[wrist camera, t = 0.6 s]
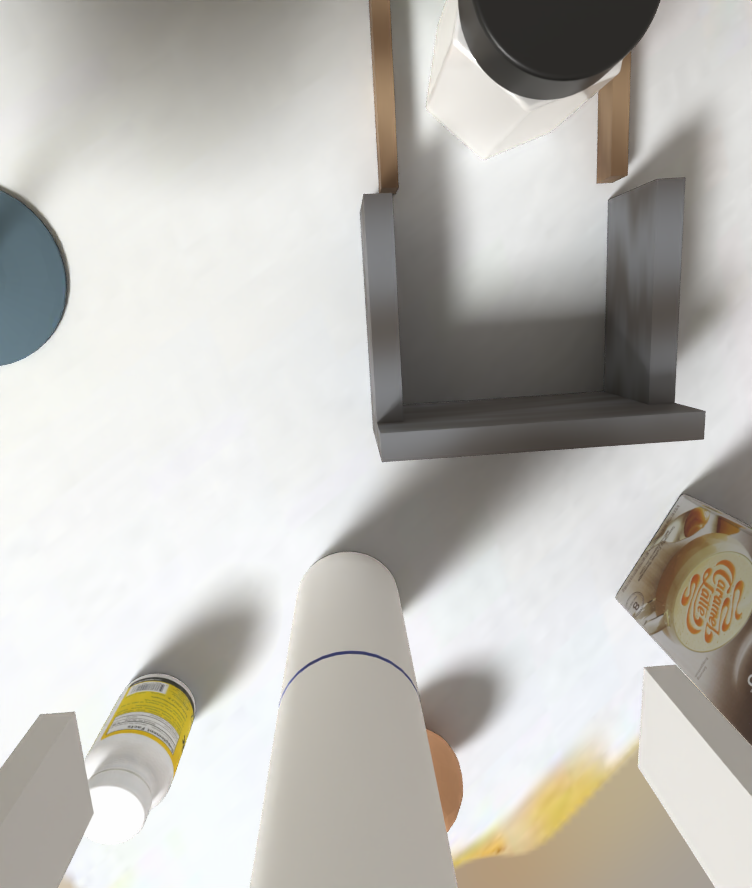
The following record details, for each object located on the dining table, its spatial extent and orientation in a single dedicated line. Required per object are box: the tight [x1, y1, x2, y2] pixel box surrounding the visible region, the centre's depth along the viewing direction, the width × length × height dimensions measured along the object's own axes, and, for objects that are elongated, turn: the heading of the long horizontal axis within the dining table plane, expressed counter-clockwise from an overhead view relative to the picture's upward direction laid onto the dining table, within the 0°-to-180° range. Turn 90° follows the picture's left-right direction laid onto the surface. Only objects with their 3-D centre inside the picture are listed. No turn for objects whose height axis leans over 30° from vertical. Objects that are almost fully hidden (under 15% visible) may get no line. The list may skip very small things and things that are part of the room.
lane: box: [360, 0, 705, 462], centre depth 32 cm, size 31×17×9 cm, turn 3°
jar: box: [426, 0, 660, 160], centre depth 30 cm, size 9×8×12 cm
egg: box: [426, 729, 463, 832], centre depth 41 cm, size 6×6×8 cm
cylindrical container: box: [250, 552, 458, 888], centre depth 30 cm, size 7×7×25 cm
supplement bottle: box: [84, 674, 196, 844], centre depth 38 cm, size 5×5×10 cm
